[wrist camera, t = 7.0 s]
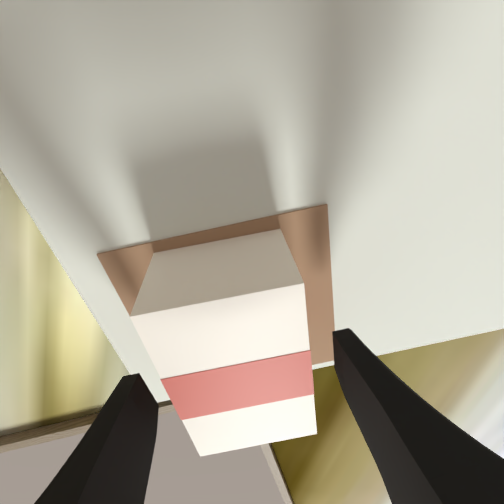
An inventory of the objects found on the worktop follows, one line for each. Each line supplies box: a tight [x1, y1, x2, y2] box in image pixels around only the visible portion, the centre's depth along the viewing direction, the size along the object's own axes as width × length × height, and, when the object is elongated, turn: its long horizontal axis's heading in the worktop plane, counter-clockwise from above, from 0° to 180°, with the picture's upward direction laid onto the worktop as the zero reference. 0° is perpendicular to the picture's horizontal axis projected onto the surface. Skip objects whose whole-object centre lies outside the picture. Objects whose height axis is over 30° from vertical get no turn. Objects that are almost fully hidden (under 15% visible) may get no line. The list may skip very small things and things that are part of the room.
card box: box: [130, 229, 317, 457], centre depth 12 cm, size 8×5×4 cm, turn 9°
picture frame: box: [0, 400, 294, 504], centre depth 22 cm, size 19×1×28 cm
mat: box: [0, 0, 504, 403], centre depth 12 cm, size 22×18×1 cm
